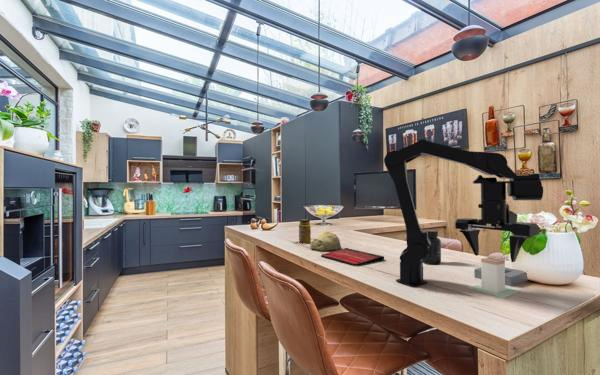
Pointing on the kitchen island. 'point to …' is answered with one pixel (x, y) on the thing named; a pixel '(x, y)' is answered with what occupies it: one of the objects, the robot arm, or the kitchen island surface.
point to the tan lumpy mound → (326, 242)
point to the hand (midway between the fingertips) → (494, 258)
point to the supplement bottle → (433, 249)
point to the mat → (501, 294)
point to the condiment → (304, 232)
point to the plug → (493, 274)
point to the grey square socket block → (508, 276)
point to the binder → (352, 257)
